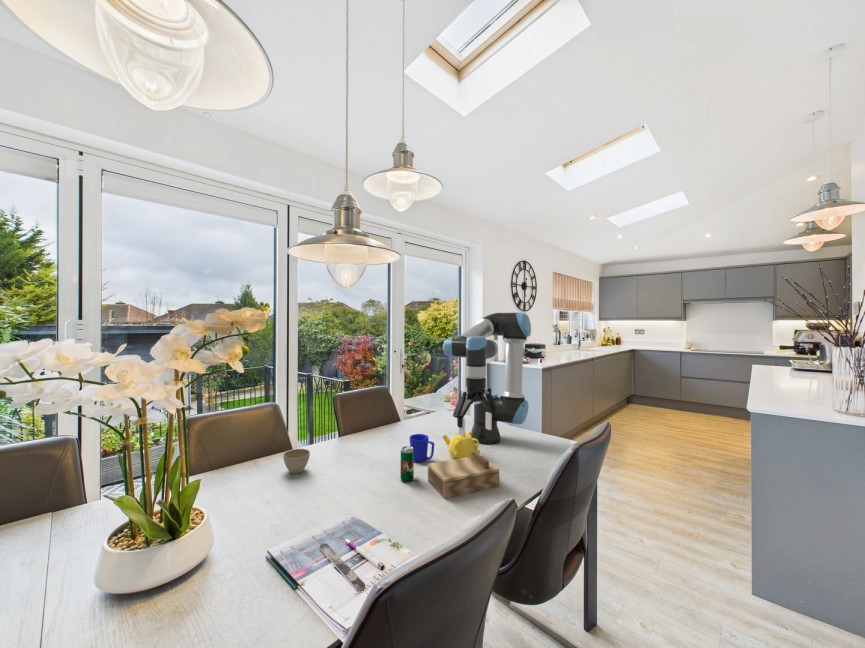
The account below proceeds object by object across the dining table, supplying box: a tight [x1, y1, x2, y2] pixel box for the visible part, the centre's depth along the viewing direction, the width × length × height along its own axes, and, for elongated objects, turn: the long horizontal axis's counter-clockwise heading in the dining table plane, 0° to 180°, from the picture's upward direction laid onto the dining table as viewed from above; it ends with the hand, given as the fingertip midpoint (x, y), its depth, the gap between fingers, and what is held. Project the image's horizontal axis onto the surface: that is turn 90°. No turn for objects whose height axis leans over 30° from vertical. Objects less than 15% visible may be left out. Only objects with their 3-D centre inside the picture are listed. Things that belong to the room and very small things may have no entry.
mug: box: [409, 433, 435, 463], centre depth 152 cm, size 8×12×10 cm
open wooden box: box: [427, 466, 500, 500], centre depth 129 cm, size 22×14×6 cm, turn 114°
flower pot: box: [282, 448, 311, 475], centre depth 141 cm, size 10×10×7 cm
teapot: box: [442, 431, 481, 460], centre depth 157 cm, size 14×14×11 cm
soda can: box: [399, 445, 415, 483], centre depth 134 cm, size 5×5×12 cm
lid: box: [427, 452, 500, 483], centre depth 129 cm, size 22×14×3 cm, turn 114°
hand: (475, 432), depth 135 cm, fingers open, 13 cm apart
